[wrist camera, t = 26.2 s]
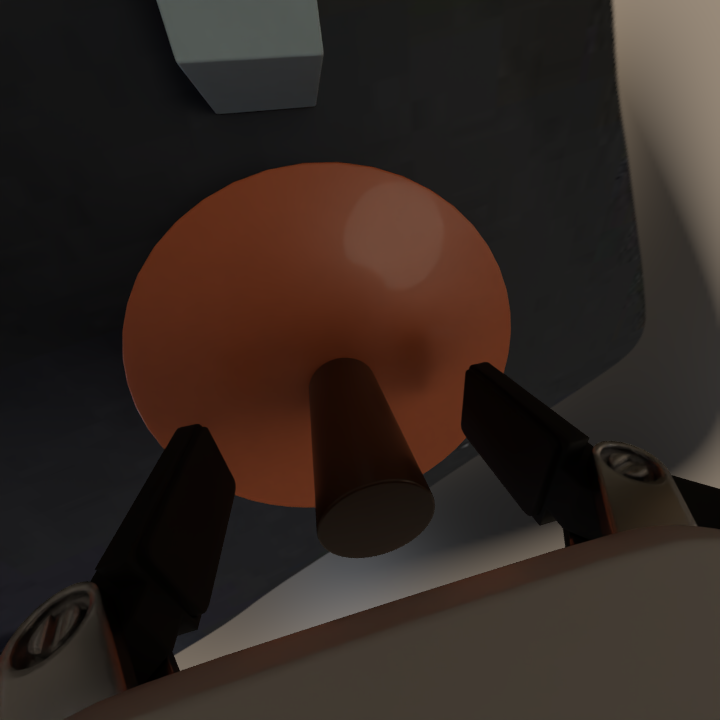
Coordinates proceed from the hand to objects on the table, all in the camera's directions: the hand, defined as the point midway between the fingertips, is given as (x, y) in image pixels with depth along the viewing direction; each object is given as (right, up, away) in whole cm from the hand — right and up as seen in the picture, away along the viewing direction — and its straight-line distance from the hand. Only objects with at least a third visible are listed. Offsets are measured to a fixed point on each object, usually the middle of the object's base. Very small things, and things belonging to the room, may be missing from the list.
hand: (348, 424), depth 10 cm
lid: (0, +1, +3) cm, 3 cm away
